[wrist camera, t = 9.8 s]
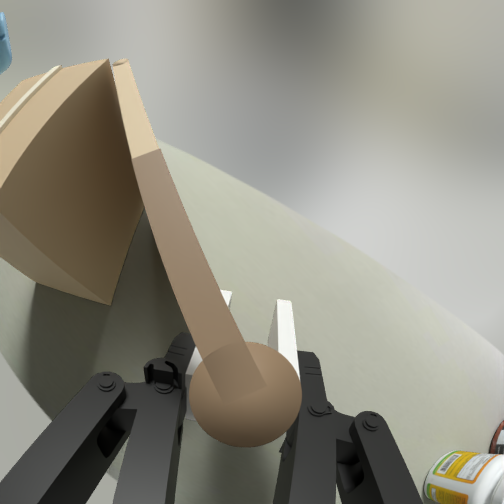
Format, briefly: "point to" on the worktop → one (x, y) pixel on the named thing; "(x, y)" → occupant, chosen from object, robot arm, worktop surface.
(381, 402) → the worktop surface
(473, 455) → the supplement bottle
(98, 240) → the carton
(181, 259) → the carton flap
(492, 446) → the supplement bottle
